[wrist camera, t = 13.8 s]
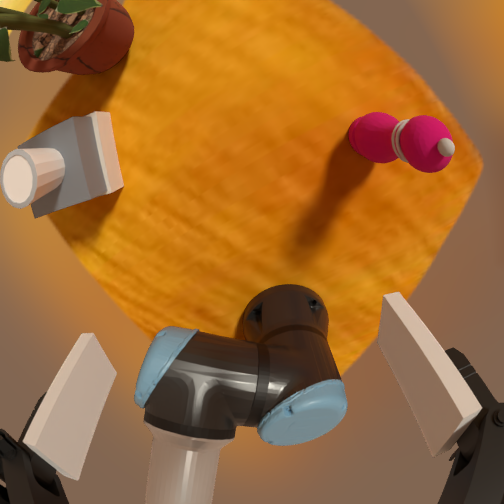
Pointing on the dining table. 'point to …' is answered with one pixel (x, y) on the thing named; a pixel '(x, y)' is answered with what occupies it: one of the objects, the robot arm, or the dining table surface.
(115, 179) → the tower base
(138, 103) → the dining table surface
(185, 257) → the dining table surface
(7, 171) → the white cup
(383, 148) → the pepper mill
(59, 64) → the potted plant
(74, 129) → the tower top
